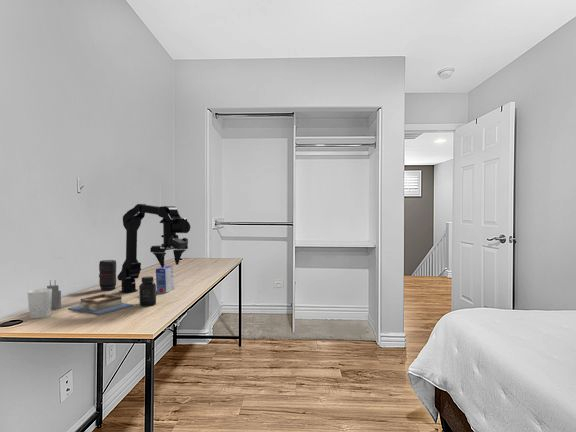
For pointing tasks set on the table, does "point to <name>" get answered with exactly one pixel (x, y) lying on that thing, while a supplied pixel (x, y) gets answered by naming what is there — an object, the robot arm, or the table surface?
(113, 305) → the foundation socket
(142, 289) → the supplement bottle
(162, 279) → the ink cartridge box
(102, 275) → the camera lens
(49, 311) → the white cup
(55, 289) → the power adapter
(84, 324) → the table surface
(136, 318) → the table surface
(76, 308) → the board
